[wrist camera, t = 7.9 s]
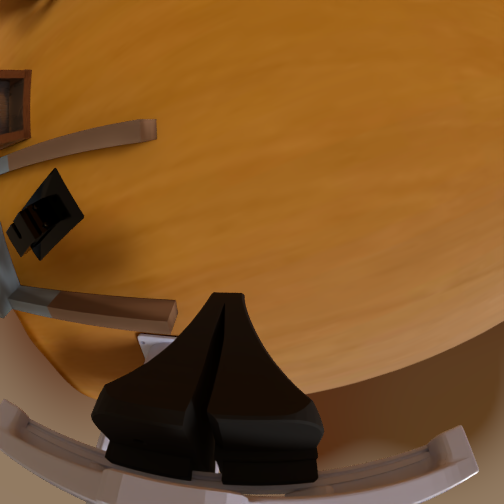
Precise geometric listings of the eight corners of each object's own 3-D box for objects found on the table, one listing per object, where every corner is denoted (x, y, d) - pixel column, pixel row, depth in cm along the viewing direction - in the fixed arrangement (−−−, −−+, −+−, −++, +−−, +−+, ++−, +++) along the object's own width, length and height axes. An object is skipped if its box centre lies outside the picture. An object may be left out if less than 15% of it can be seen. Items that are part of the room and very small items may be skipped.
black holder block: (65, 149, 18) (31, 159, 14) (104, 215, 21) (76, 236, 17) (10, 220, 21) (-16, 237, 17) (42, 271, 24) (19, 293, 19)
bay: (178, 313, 24) (164, 351, 20) (20, 294, 25) (-1, 317, 20) (156, 119, 17) (126, 119, 12) (-14, 165, 17) (-44, 177, 13)
